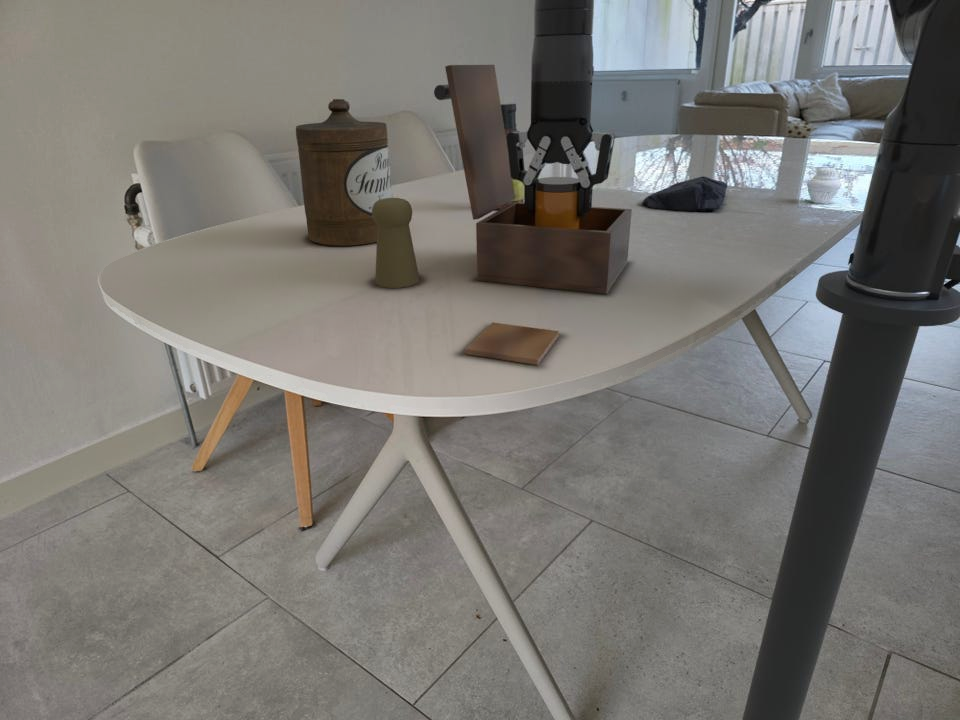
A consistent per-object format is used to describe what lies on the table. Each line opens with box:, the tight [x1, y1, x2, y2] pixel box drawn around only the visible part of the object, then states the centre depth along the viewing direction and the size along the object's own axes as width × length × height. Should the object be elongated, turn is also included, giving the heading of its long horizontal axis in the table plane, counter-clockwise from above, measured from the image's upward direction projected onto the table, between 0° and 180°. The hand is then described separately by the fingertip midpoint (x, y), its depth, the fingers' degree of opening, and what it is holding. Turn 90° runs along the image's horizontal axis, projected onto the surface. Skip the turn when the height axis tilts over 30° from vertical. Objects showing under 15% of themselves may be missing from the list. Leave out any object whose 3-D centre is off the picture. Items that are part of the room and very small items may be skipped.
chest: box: [475, 202, 633, 295], centre depth 85 cm, size 18×15×8 cm
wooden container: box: [295, 98, 394, 247], centre depth 103 cm, size 15×15×22 cm
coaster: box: [465, 321, 560, 366], centre depth 64 cm, size 8×8×1 cm
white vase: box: [806, 166, 842, 205], centre depth 125 cm, size 6×6×7 cm
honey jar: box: [535, 176, 581, 229], centre depth 84 cm, size 6×6×12 cm
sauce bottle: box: [496, 102, 524, 210], centre depth 123 cm, size 6×6×20 cm
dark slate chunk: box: [642, 175, 728, 212], centre depth 129 cm, size 15×22×5 cm
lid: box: [433, 64, 515, 221], centre depth 84 cm, size 18×15×5 cm
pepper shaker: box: [372, 197, 420, 289], centre depth 82 cm, size 6×6×11 cm
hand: (557, 213), depth 83 cm, fingers closed on honey jar, 6 cm apart
